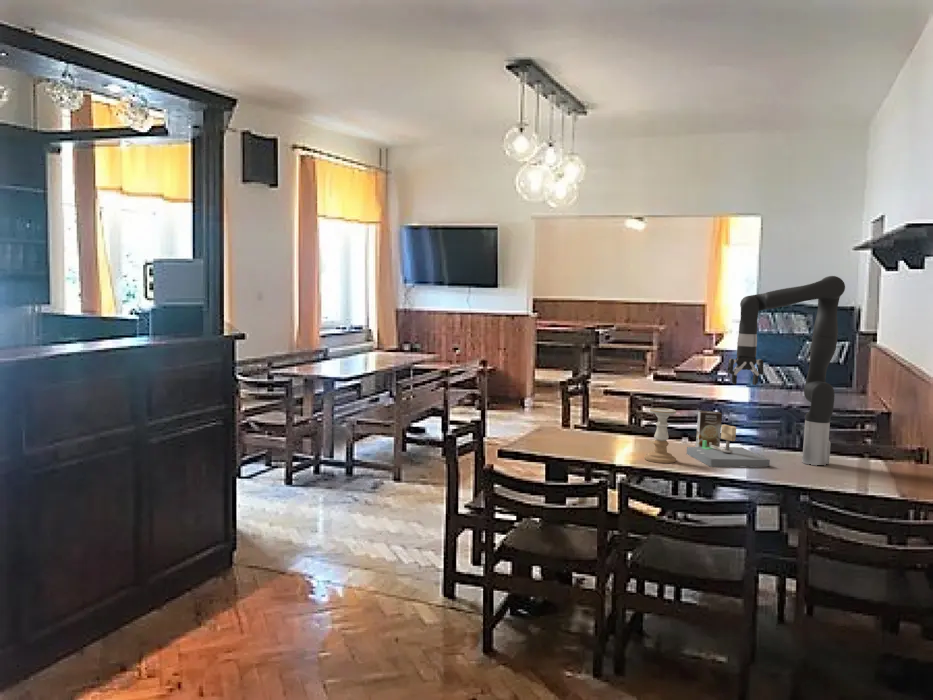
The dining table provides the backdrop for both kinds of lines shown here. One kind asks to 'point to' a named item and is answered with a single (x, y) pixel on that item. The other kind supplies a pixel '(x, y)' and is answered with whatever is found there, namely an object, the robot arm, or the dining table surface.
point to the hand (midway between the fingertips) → (744, 384)
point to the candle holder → (661, 437)
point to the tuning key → (726, 438)
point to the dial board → (726, 456)
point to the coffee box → (708, 428)
